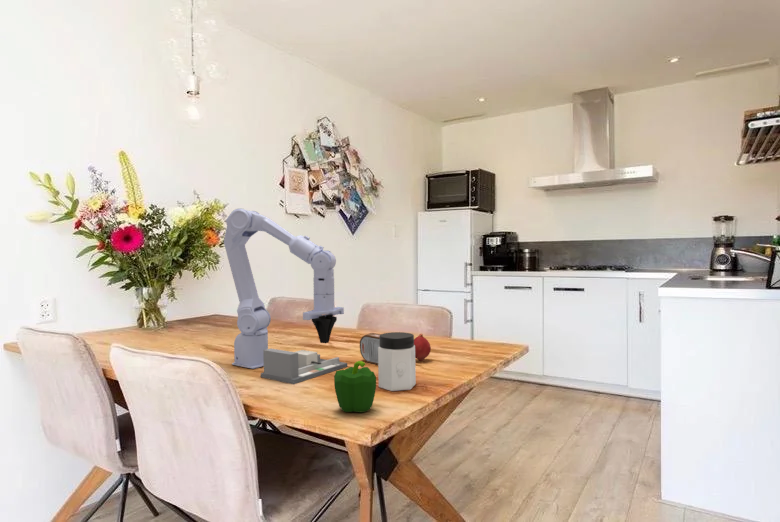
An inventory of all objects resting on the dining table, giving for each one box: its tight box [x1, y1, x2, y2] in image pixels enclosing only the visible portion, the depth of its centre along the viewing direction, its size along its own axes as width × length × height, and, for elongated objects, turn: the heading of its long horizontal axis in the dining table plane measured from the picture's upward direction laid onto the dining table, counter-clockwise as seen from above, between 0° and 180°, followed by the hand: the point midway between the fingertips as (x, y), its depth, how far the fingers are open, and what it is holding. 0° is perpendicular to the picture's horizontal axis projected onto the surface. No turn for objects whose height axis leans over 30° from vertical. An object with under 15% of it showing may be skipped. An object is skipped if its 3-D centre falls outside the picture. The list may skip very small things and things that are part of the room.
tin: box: [359, 332, 382, 366], centre depth 130 cm, size 15×3×8 cm, turn 45°
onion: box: [414, 333, 432, 362], centre depth 133 cm, size 6×6×8 cm
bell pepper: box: [333, 360, 377, 413], centre depth 93 cm, size 8×8×10 cm
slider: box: [295, 349, 321, 368], centre depth 122 cm, size 9×4×4 cm, turn 55°
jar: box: [377, 331, 417, 392], centre depth 109 cm, size 9×8×12 cm
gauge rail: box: [260, 348, 348, 385], centre depth 123 cm, size 12×20×7 cm, turn 145°
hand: (324, 342), depth 129 cm, fingers closed
